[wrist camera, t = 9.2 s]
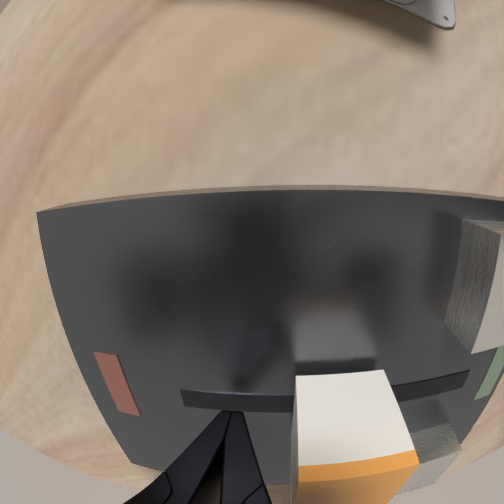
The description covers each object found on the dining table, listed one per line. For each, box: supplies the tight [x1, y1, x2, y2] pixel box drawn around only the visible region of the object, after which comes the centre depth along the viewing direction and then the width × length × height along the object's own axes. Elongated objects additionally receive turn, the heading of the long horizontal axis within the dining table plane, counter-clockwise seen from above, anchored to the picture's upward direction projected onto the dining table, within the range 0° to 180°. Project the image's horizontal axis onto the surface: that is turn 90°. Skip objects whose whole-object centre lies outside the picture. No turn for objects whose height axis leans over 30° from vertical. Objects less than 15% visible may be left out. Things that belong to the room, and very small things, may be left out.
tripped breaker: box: [290, 370, 420, 504], centre depth 7 cm, size 3×4×4 cm
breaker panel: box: [36, 185, 504, 495], centre depth 9 cm, size 20×15×4 cm
